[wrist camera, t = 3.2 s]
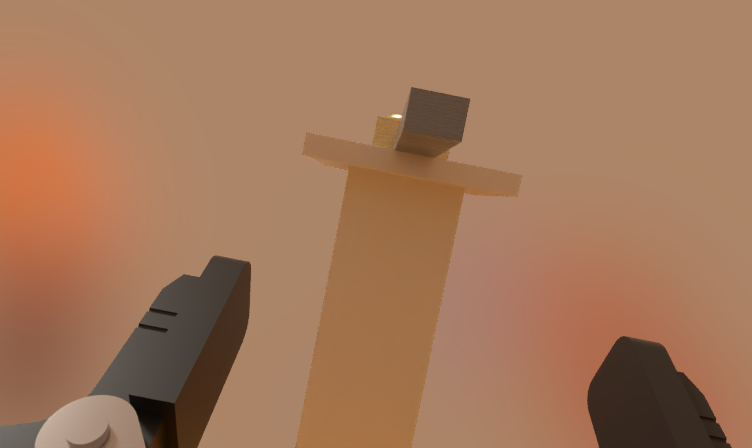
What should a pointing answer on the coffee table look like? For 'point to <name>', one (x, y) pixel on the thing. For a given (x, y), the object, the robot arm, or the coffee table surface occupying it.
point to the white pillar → (384, 290)
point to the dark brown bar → (424, 124)
